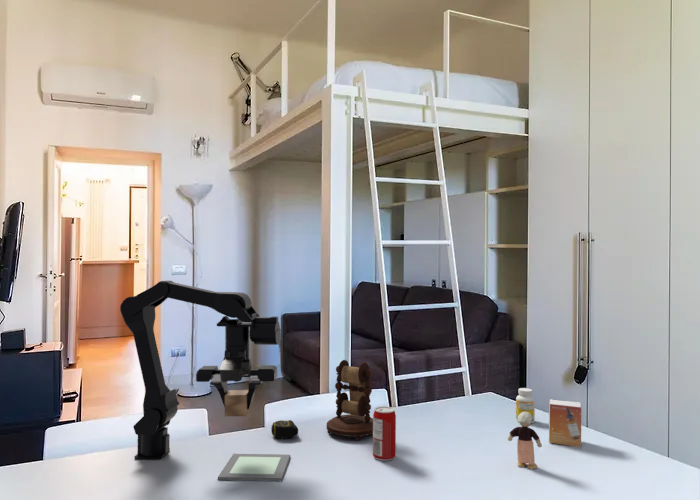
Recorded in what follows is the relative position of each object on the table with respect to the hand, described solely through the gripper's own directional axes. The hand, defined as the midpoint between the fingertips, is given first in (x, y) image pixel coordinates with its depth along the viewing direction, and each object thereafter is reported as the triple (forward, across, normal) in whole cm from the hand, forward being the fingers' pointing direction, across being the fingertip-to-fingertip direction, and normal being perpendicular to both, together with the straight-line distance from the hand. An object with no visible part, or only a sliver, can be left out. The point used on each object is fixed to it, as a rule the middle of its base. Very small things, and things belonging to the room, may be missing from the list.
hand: (237, 409), depth 128 cm
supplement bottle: (+13, +80, +32) cm, 87 cm away
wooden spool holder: (+13, +28, +20) cm, 36 cm away
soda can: (+13, +36, +2) cm, 38 cm away
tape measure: (+12, +10, +17) cm, 23 cm away
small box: (+14, +85, +14) cm, 87 cm away
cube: (+1, 0, 0) cm, 1 cm away
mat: (+12, +6, -6) cm, 14 cm away
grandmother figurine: (+13, +68, -3) cm, 70 cm away
